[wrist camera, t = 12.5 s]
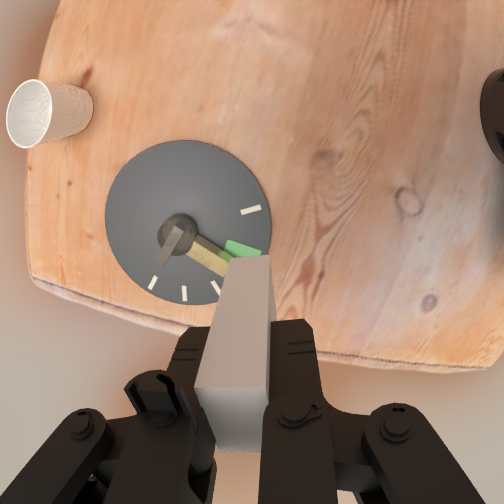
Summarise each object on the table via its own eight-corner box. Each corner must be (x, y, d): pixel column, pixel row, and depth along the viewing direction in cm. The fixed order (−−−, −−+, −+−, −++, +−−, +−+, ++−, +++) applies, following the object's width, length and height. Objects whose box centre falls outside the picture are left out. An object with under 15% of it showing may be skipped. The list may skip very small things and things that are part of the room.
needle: (157, 236, 39) (143, 253, 34) (175, 204, 37) (162, 217, 32) (241, 288, 41) (237, 311, 36) (263, 260, 39) (261, 280, 35)
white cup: (73, 73, 32) (26, 67, 23) (108, 102, 34) (63, 101, 24) (45, 119, 34) (-2, 125, 25) (77, 149, 36) (31, 161, 27)
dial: (104, 143, 36) (98, 144, 34) (276, 143, 35) (276, 143, 34) (119, 292, 44) (115, 297, 43) (265, 306, 44) (264, 312, 42)
